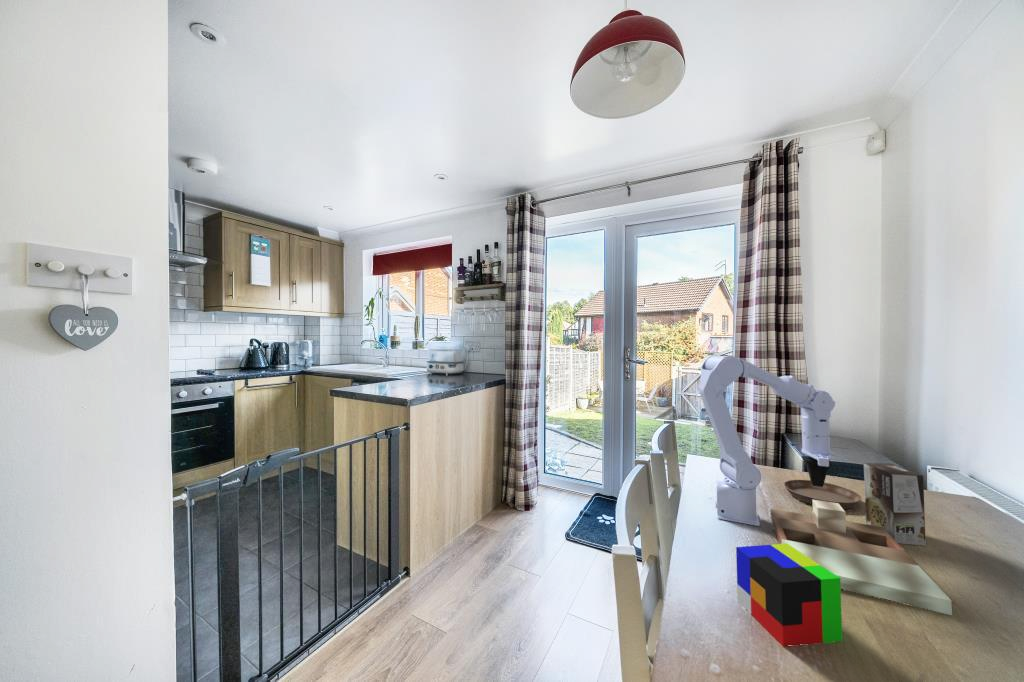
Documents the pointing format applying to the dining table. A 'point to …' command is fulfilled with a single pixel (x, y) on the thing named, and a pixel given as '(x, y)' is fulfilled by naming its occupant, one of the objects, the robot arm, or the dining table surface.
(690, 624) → the dining table surface
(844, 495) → the plant saucer
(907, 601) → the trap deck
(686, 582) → the dining table surface
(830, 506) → the block
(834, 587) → the puzzle toy
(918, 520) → the coffee box
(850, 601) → the dining table surface
